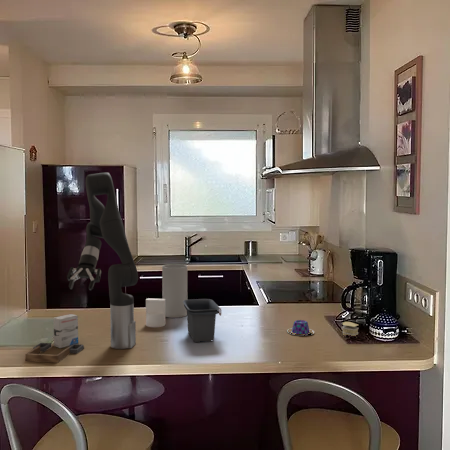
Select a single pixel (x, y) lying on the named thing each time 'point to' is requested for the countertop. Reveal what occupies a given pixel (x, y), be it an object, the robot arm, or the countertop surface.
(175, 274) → the cylinder vase
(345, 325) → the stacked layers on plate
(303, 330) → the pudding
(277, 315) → the countertop surface
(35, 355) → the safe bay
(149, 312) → the cylinder with rectangular tab
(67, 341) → the ink box
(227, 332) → the countertop surface
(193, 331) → the storage bin
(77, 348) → the trap pits
